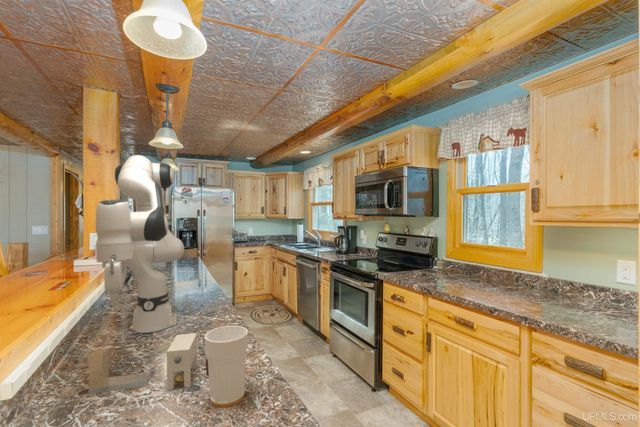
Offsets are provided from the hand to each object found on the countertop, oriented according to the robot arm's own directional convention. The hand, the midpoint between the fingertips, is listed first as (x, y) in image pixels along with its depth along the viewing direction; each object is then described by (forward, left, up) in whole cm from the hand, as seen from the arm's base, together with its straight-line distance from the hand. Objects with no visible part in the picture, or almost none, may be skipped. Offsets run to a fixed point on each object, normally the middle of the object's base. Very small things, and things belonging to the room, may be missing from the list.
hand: (116, 302), depth 88 cm
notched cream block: (0, +18, -25) cm, 30 cm away
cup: (+13, +32, -25) cm, 42 cm away
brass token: (0, +18, -25) cm, 30 cm away
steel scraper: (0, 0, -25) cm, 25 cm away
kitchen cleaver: (-12, +25, -25) cm, 38 cm away
